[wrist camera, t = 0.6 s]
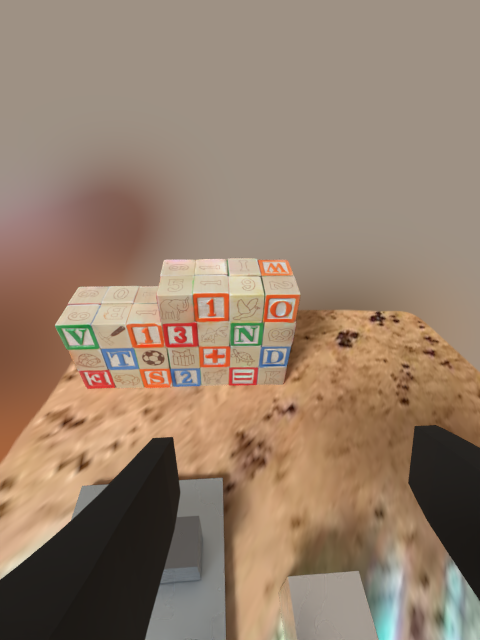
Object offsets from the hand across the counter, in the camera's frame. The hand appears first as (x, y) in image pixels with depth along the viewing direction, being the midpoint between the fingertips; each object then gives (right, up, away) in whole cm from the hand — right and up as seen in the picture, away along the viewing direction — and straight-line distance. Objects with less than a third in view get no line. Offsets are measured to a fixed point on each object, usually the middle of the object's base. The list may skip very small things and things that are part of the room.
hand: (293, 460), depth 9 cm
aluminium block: (+3, -15, +9) cm, 18 cm away
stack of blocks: (-8, -1, +26) cm, 27 cm away
